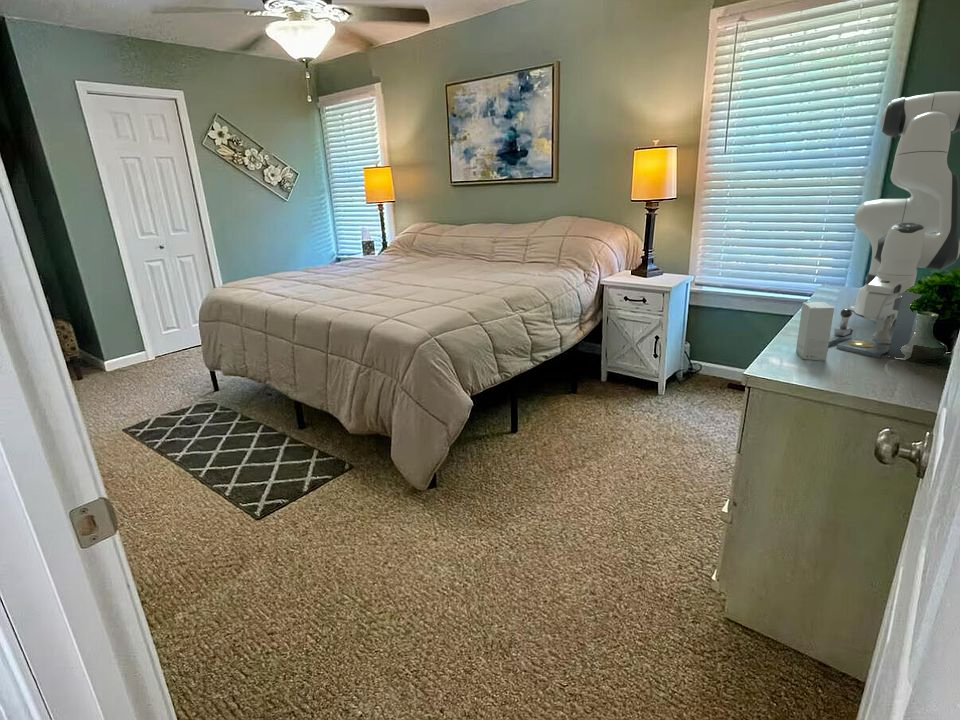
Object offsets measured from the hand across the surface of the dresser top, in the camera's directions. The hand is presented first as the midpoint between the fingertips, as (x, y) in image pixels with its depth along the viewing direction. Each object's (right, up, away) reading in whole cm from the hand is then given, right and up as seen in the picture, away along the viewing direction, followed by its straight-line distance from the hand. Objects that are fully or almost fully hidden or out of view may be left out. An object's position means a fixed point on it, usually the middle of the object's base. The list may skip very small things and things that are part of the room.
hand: (883, 328), depth 149 cm
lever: (-8, -1, +5) cm, 10 cm away
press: (-8, -6, -3) cm, 10 cm away
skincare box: (-26, -8, -6) cm, 28 cm away
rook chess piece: (0, -4, +1) cm, 4 cm away
